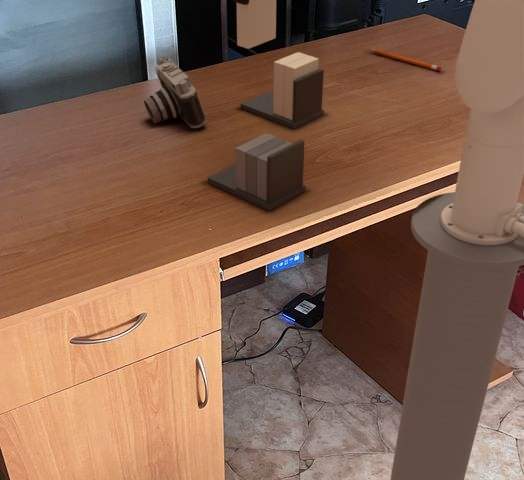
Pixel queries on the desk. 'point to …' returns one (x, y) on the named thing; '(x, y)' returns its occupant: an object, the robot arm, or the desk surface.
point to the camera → (174, 96)
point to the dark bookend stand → (292, 92)
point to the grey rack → (264, 172)
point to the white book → (256, 22)
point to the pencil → (406, 59)
